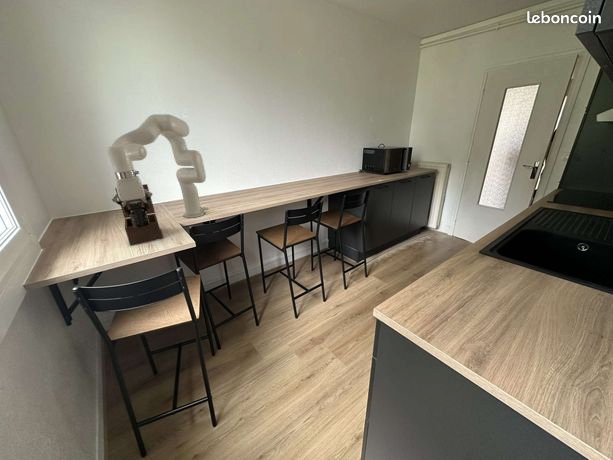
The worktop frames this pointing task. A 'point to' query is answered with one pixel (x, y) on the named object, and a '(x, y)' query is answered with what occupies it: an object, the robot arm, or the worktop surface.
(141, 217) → the supplement bottle
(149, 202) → the lid
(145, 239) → the walnut box
